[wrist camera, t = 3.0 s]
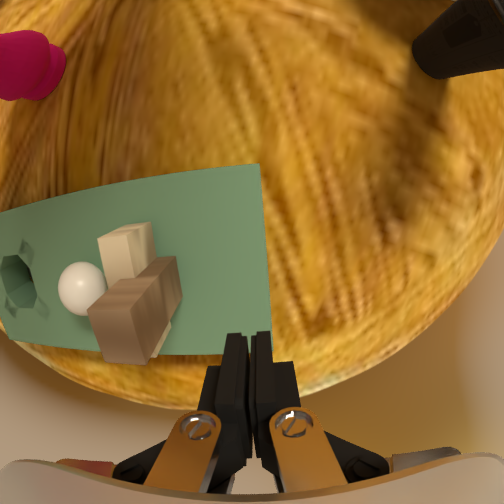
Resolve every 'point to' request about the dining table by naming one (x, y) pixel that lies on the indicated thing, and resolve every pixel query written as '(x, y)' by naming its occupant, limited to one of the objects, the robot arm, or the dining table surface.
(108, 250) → the stacked wooden blocks
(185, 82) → the dining table surface
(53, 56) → the pepper mill
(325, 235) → the dining table surface
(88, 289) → the ball
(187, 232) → the putting mat
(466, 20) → the drinking cup
